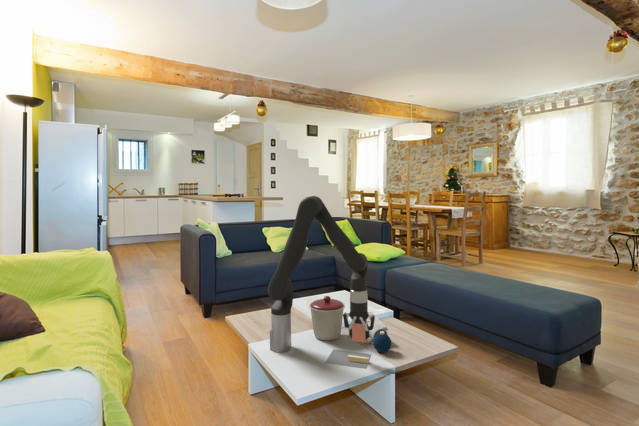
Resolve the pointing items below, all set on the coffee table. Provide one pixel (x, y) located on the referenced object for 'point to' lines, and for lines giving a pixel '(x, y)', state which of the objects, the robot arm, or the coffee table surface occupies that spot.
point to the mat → (349, 358)
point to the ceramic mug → (375, 333)
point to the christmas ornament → (382, 342)
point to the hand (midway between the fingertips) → (359, 337)
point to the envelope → (375, 321)
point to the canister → (327, 318)
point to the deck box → (358, 333)
